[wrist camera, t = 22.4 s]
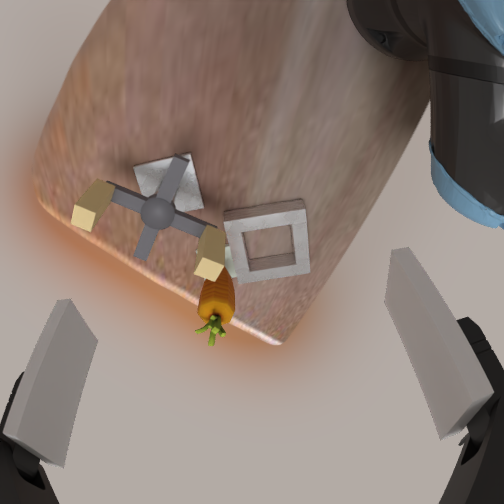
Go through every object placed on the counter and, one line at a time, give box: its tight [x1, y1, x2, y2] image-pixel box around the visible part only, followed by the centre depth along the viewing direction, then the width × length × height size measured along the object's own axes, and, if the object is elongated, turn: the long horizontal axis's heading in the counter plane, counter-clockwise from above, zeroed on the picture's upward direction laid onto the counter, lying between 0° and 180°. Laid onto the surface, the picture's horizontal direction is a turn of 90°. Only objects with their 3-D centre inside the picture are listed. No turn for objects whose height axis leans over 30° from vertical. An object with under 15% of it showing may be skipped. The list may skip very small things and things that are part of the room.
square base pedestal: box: [133, 152, 204, 212], centre depth 40 cm, size 8×8×7 cm
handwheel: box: [71, 154, 226, 282], centre depth 34 cm, size 16×14×8 cm
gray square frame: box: [224, 199, 310, 284], centre depth 47 cm, size 11×11×3 cm
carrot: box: [195, 266, 235, 346], centre depth 44 cm, size 5×5×15 cm
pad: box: [196, 244, 237, 279], centre depth 50 cm, size 6×6×1 cm
